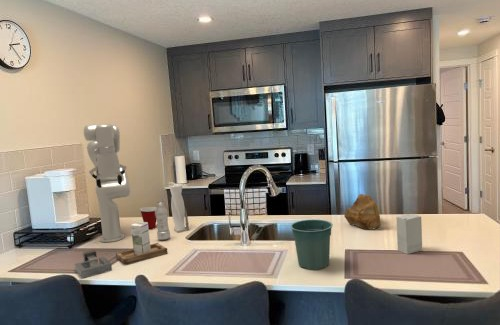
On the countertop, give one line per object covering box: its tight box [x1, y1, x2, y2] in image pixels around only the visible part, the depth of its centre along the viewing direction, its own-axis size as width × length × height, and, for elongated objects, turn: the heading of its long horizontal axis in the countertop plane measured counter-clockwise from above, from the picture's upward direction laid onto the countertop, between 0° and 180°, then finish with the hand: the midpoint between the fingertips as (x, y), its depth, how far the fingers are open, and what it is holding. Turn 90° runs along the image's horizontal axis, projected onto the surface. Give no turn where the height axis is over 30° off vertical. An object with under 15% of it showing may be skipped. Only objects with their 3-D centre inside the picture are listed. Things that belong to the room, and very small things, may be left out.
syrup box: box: [130, 221, 151, 255], centre depth 176 cm, size 6×6×14 cm
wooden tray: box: [115, 242, 169, 266], centre depth 177 cm, size 12×20×2 cm, turn 126°
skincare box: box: [396, 213, 423, 255], centre depth 158 cm, size 8×6×15 cm
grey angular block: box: [82, 249, 99, 267], centre depth 170 cm, size 9×5×4 cm, turn 36°
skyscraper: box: [168, 182, 190, 233], centre depth 216 cm, size 8×8×28 cm
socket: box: [74, 256, 113, 279], centre depth 162 cm, size 12×12×3 cm
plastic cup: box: [139, 206, 158, 230], centre depth 226 cm, size 11×11×12 cm
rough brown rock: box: [343, 193, 381, 230], centre depth 201 cm, size 23×17×15 cm
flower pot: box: [290, 218, 334, 270], centre depth 151 cm, size 16×16×16 cm
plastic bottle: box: [155, 201, 171, 241], centre depth 200 cm, size 6×7×20 cm
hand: (109, 185), depth 184 cm, fingers open, 9 cm apart
